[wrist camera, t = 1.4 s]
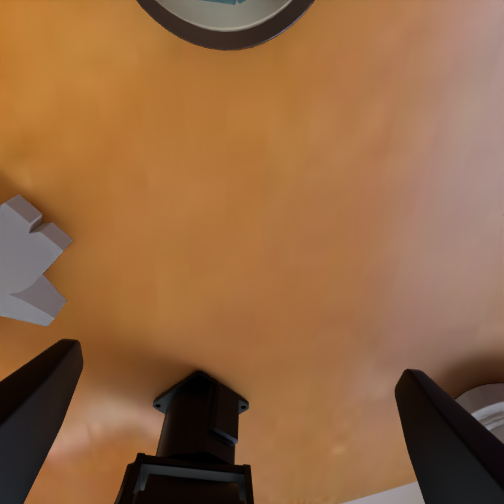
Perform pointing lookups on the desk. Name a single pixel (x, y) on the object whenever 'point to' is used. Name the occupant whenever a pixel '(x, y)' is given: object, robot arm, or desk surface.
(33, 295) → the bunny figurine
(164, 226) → the desk surface
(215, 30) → the stack
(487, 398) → the white stemmed stand
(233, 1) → the teal cup
